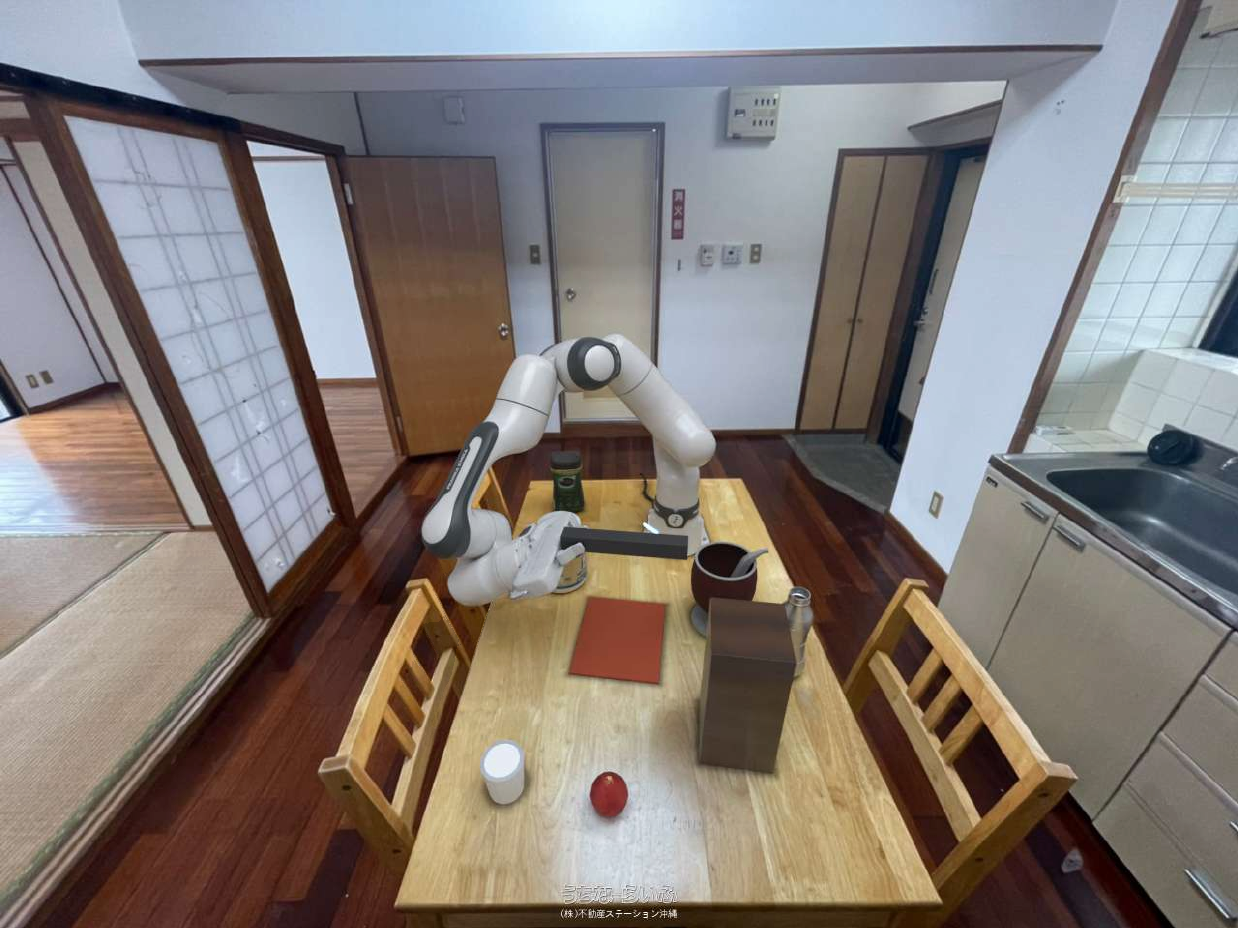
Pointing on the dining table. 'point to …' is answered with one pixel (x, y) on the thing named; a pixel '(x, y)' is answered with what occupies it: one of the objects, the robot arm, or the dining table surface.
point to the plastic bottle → (799, 622)
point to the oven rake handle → (627, 542)
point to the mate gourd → (722, 577)
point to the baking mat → (620, 640)
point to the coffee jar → (567, 481)
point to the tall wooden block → (745, 684)
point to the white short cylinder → (503, 771)
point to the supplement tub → (570, 566)
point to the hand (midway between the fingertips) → (586, 537)
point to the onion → (608, 794)
